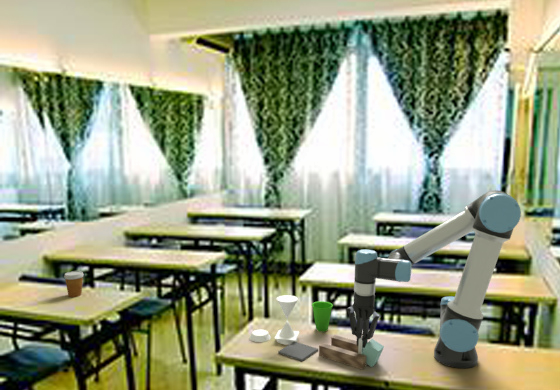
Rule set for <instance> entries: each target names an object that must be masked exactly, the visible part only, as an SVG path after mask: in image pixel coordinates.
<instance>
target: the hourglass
mask: <svg viewBox="0 0 560 390" xmlns="http://www.w3.org/2000/svg"><path fill="white" fill-rule="evenodd" d="M298 299H299V298H298V297H297V296H295V295H290V294H289V295H286V294H285V295H284V294H283V295H279V296H277V297H276V301H277V303H278V305H279V306H280V309H281V310H282V313H283V315H284V316H285V318H286V321H285V323H284V325H283V327H282V328H281V329H278V331H277V333H276V334H275V336H274V340H276V342H277V343H278V344H281V345H286V346H288V345H290V344H291V343H293V342H299V341H298V336H299V334H300V331H299V330H293V328H292V325H291V324H290V321H289V320H288V319H289V317H290V315H291V313H292V311H293V309H294V307H295V306H296V304H297V301H298ZM249 340H250V341H252V342H255V343H265V342H268V341H270V340H271V335H270V333H269V331H268V330H265V329H262V328H260V329H255V330H253V331H252V332H251V334H250V336H249Z"/></svg>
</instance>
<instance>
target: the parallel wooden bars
mask: <svg viewBox="0 0 560 390" xmlns="http://www.w3.org/2000/svg"><path fill="white" fill-rule="evenodd" d="M330 339H331V340H330V341H331V343H330V344H328V343H324V342H322V343H321V344H319V345H318V356H319V357H322V358H325V359H327V360H328V359H329V360H332V361H334V362H337V363H341V364H344V365H347V366H349V367H354V368H356V369H360V370H364V369H365V368H366V367H367V364H366V355H362V354H359V353H358V346H357V344H356V343H357V340H354V339H351V338H348V337H347V338H346V337H343V336H340V335H337V334H334V335H333V336H331V337H330Z"/></svg>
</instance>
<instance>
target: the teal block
mask: <svg viewBox="0 0 560 390" xmlns="http://www.w3.org/2000/svg"><path fill="white" fill-rule="evenodd" d="M384 348H385V346H384V345H382V344H381V343H380V342H378V341H376V340H375V339H373V338H371V339H369V341H368V342H367V344H366V346H365V348H364V351H363V353H362V355H366V365H367V366H369V367H371V368H373V367H374V366H375V365H376V364H377V363H378V361H379V360H380V357H381V354H382V353H383V350H384Z"/></svg>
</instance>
